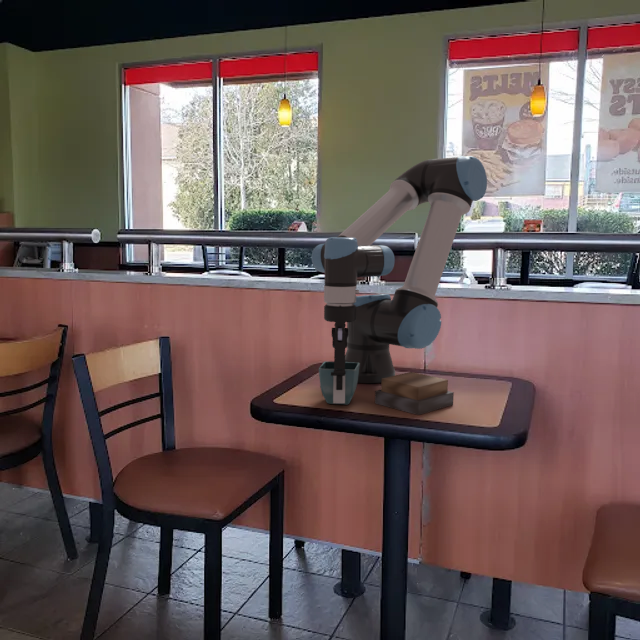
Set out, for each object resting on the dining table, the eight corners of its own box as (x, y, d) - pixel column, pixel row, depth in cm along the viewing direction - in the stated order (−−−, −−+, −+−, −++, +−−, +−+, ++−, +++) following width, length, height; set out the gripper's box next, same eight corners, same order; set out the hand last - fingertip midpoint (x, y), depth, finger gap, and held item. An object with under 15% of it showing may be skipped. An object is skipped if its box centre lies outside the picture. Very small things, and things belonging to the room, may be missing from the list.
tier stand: (374, 403, 153) (375, 378, 153) (410, 394, 162) (410, 370, 161) (418, 415, 144) (419, 388, 143) (453, 404, 153) (454, 379, 152)
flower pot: (323, 396, 159) (324, 360, 158) (359, 398, 158) (360, 362, 157) (317, 406, 151) (318, 368, 150) (355, 408, 149) (356, 369, 148)
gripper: (357, 310, 140) (355, 410, 143) (355, 298, 162) (354, 385, 165) (322, 309, 140) (321, 409, 143) (325, 298, 162) (324, 385, 166)
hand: (339, 396), depth 154 cm, fingers open, 10 cm apart
